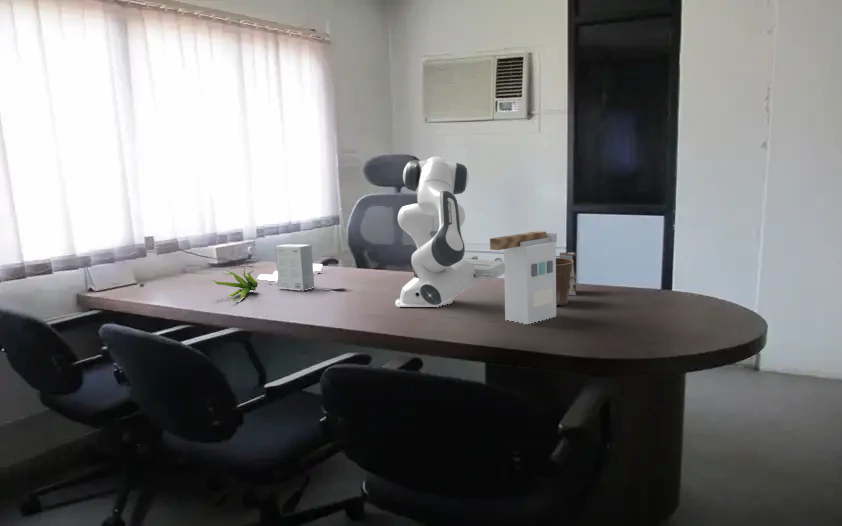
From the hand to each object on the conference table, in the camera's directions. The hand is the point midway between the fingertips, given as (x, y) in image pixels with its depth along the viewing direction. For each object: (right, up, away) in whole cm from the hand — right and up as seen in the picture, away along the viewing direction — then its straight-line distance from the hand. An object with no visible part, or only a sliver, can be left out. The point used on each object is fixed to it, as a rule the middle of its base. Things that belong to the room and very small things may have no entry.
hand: (488, 259), depth 212 cm
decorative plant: (-97, -17, +70) cm, 121 cm away
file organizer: (-86, -10, +118) cm, 146 cm away
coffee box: (+38, -14, +57) cm, 70 cm away
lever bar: (+11, +5, +10) cm, 16 cm away
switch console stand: (+17, -20, +18) cm, 32 cm away
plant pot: (+28, -17, +40) cm, 52 cm away
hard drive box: (-77, -13, +88) cm, 118 cm away
